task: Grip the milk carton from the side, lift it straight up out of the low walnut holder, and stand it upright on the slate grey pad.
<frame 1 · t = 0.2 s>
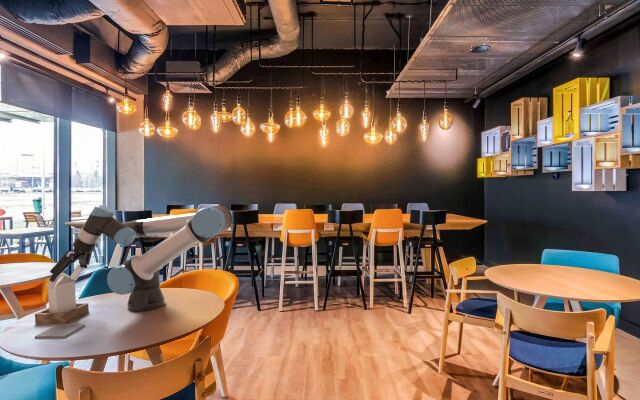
hand: (61, 283, 154), 14 cm above the table, tool tilted 35°, fingers open, 13 cm apart
slate pad: (60, 332, 138), on the table
walnut holder: (63, 317, 153), on the table
milk carton: (63, 318, 153), resting in walnut holder
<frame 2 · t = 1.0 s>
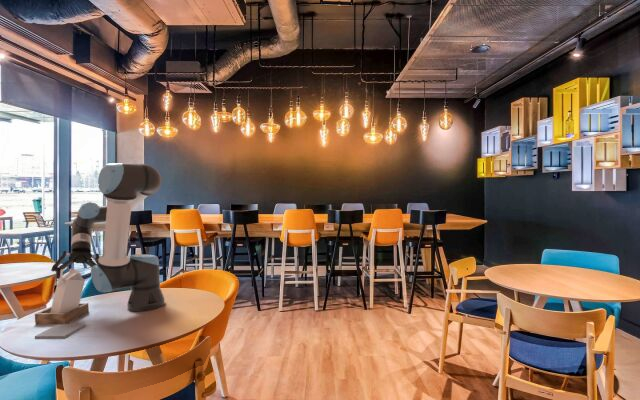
hand: (79, 284, 154), 13 cm above the table, tool tilted 50°, fingers open, 13 cm apart
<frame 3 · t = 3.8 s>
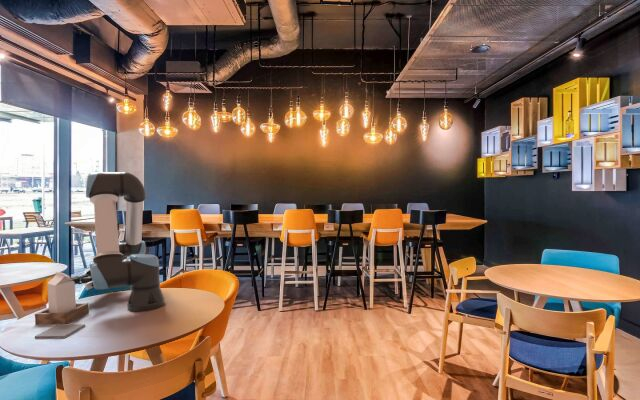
hand: (69, 287, 159), 11 cm above the table, tool horizontal, fingers open, 13 cm apart
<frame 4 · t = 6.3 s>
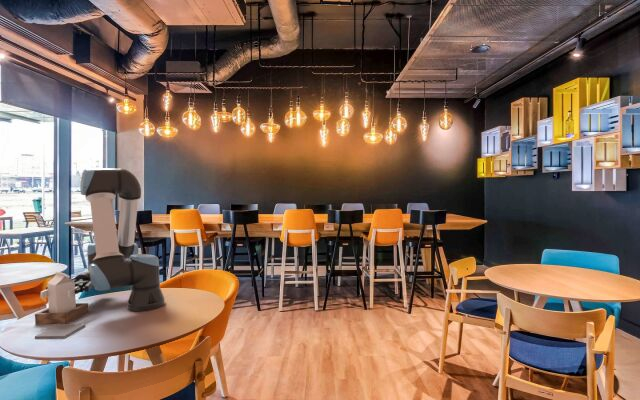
hand: (55, 294, 149), 11 cm above the table, tool horizontal, fingers closed on milk carton, 10 cm apart
milk carton: (62, 318, 153), resting in walnut holder, touching gripper
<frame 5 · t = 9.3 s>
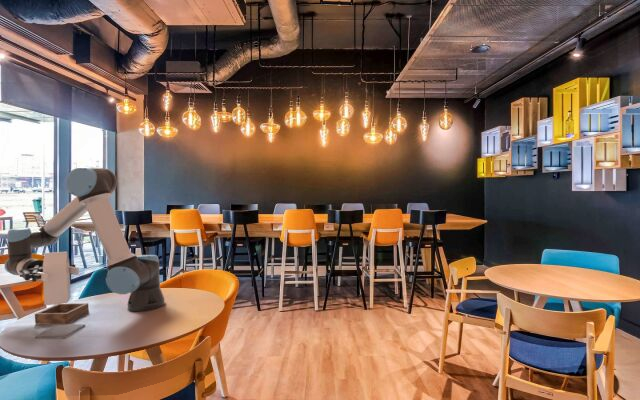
hand: (62, 274, 138), 21 cm above the table, tool horizontal, fingers closed on milk carton, 10 cm apart
milk carton: (58, 302, 141), point 10 cm above the table, touching gripper
when the fingers open (13 cm above the table, at t = 12.4 s): milk carton drops 1 cm, resting on slate pad.
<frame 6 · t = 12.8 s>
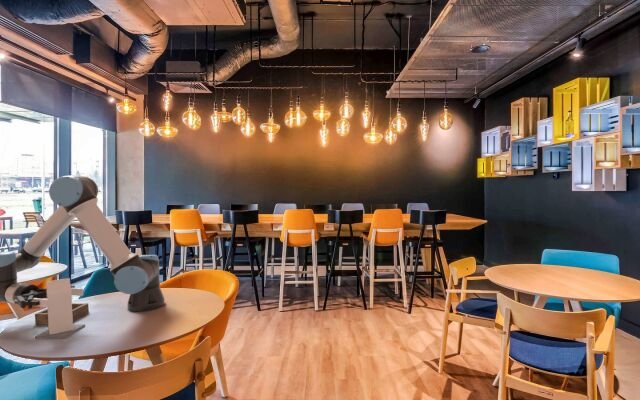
hand: (65, 297, 137), 13 cm above the table, tool horizontal, fingers open, 13 cm apart
milk carton: (60, 330, 138), point 1 cm above the table, touching slate pad
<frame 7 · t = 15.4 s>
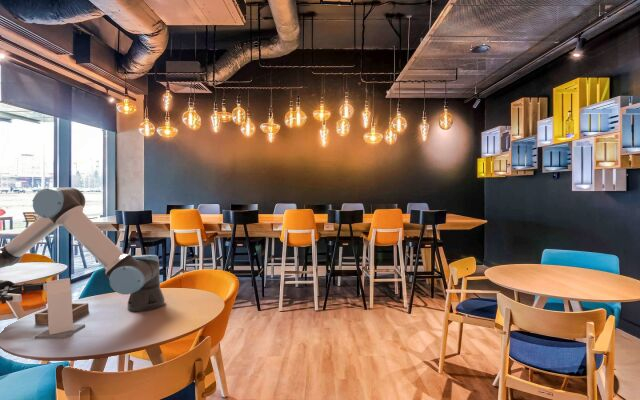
hand: (39, 292, 141), 14 cm above the table, tool horizontal, fingers open, 13 cm apart
nothing on the table moved.
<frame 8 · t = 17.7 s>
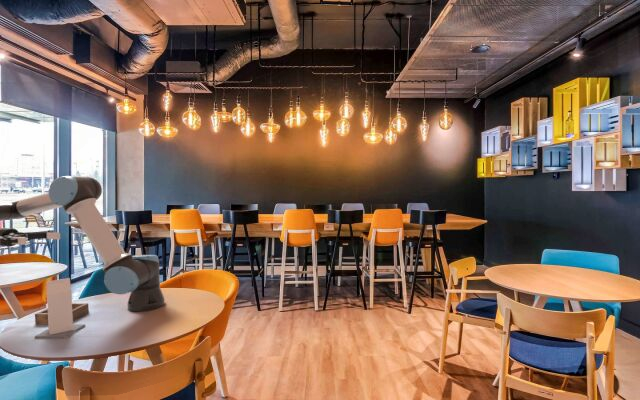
hand: (43, 238, 147), 34 cm above the table, tool horizontal, fingers open, 13 cm apart
nothing on the table moved.
at the end: milk carton inside the target area on the slate pad (0.1 cm from its centre), point 0.6 cm above the slate pad's base; milk carton tilted 0°; the gripper is holding nothing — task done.
